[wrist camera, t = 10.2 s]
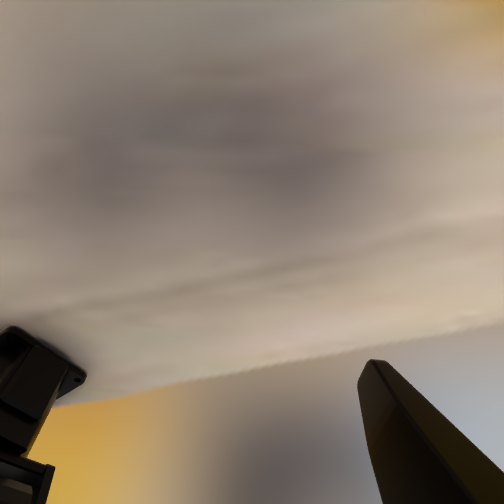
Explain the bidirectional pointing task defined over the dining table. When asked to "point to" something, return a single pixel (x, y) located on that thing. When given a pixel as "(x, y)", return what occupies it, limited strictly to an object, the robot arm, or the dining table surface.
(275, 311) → the dining table surface
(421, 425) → the robot arm
